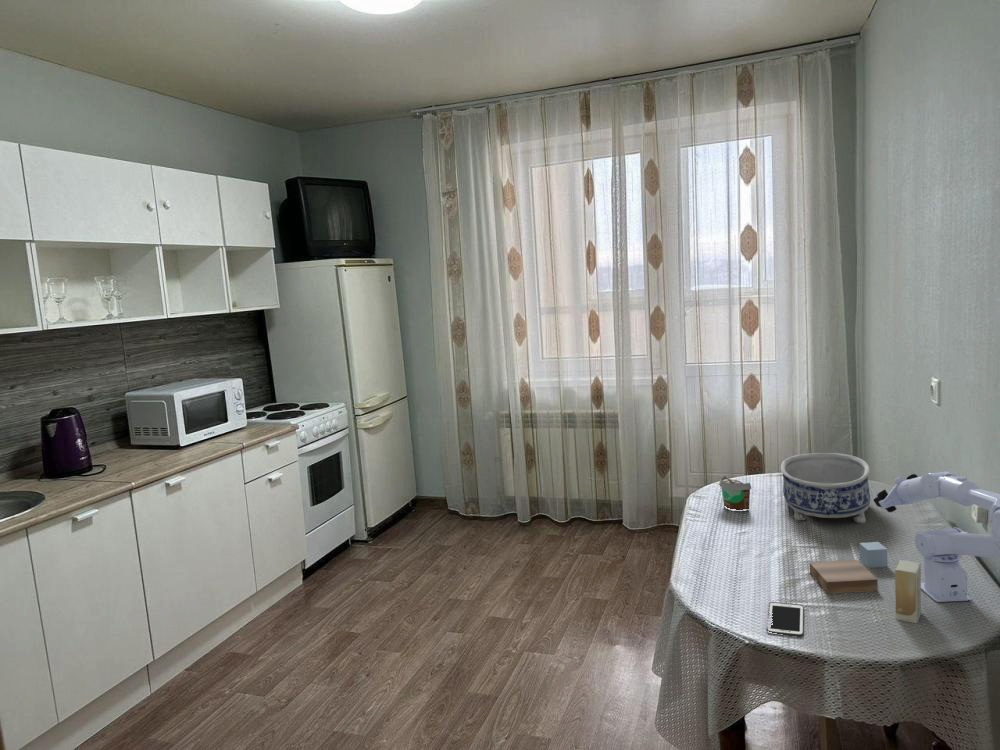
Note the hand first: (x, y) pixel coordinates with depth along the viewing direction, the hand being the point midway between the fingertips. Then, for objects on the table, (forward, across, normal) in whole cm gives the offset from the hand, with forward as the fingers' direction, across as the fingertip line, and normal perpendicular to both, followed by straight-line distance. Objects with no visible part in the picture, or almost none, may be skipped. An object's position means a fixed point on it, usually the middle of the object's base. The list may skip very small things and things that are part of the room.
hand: (888, 496), depth 187 cm
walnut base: (-2, +25, +12) cm, 28 cm away
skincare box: (-20, +24, +22) cm, 38 cm away
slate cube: (+5, +11, +14) cm, 19 cm away
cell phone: (-16, +48, +11) cm, 52 cm away
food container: (+53, +21, -12) cm, 58 cm away
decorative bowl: (+44, -4, +1) cm, 45 cm away
